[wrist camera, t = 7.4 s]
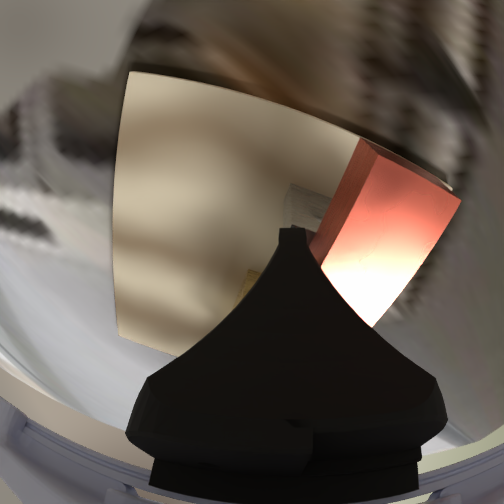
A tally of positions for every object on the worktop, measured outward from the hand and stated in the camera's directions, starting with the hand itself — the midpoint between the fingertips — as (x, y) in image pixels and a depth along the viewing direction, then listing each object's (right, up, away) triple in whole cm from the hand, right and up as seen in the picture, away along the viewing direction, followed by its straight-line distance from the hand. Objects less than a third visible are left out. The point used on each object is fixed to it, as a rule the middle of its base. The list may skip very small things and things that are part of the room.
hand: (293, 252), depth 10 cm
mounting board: (-2, -2, +9) cm, 9 cm away
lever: (+1, -3, +3) cm, 4 cm away
